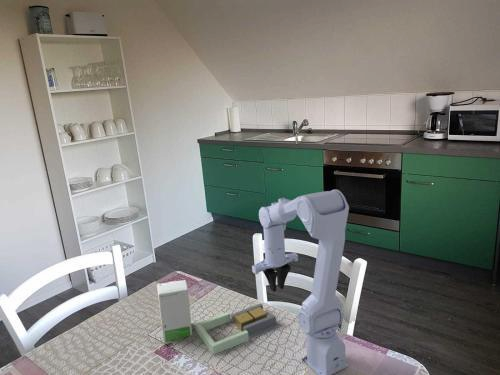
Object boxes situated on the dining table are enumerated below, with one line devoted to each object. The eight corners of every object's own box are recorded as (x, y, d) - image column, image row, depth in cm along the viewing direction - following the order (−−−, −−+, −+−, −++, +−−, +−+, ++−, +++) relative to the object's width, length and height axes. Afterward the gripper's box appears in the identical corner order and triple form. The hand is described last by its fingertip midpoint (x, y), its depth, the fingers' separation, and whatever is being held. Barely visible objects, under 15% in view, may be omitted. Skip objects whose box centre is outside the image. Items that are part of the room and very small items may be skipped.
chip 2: (267, 322, 115) (267, 313, 115) (255, 327, 114) (255, 317, 113) (260, 315, 119) (259, 306, 118) (248, 320, 117) (248, 311, 116)
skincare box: (163, 345, 110) (156, 295, 106) (162, 331, 116) (155, 283, 112) (194, 338, 112) (188, 289, 108) (191, 325, 119) (185, 278, 114)
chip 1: (254, 327, 113) (253, 318, 113) (241, 332, 112) (241, 323, 111) (247, 320, 117) (246, 311, 116) (235, 325, 115) (234, 316, 114)
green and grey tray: (279, 331, 113) (279, 319, 112) (213, 358, 104) (212, 346, 103) (258, 311, 123) (257, 300, 122) (196, 334, 114) (195, 323, 113)
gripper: (287, 235, 120) (289, 276, 124) (245, 247, 114) (248, 290, 117) (301, 243, 114) (303, 285, 118) (258, 256, 108) (261, 301, 111)
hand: (276, 288), depth 117 cm, fingers closed
